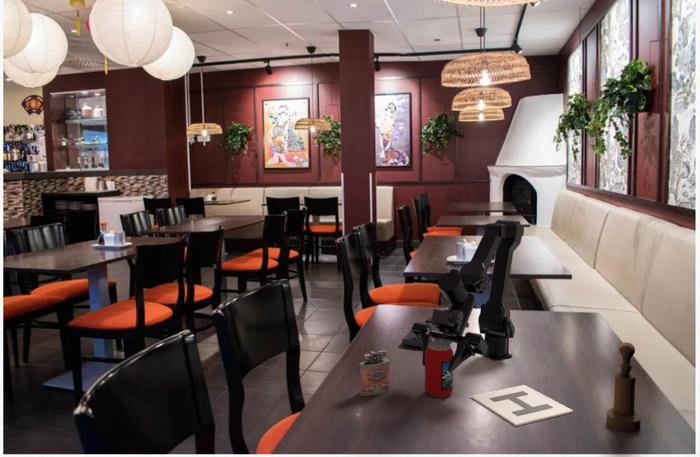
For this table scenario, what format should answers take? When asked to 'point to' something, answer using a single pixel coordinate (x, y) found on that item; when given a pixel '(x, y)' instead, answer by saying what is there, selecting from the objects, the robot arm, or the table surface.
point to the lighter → (374, 373)
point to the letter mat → (521, 405)
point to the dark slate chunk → (413, 341)
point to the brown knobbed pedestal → (624, 395)
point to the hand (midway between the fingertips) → (436, 368)
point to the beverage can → (438, 369)
